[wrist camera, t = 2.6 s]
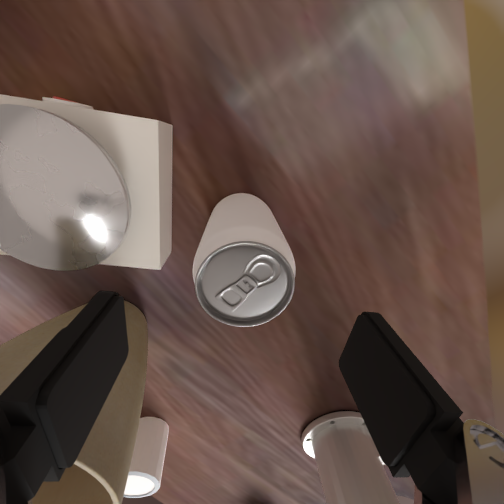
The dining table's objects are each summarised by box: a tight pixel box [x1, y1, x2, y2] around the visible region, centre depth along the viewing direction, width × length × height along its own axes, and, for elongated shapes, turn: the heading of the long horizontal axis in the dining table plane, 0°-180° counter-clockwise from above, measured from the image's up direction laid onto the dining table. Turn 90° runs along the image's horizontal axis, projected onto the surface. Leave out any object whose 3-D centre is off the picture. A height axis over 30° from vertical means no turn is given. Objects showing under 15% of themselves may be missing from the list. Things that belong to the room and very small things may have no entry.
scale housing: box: [0, 94, 173, 270], centre depth 20 cm, size 14×12×4 cm
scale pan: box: [0, 104, 131, 271], centre depth 17 cm, size 11×11×2 cm
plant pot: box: [0, 300, 148, 504], centre depth 21 cm, size 15×15×16 cm
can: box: [193, 193, 295, 327], centre depth 19 cm, size 6×6×12 cm
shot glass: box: [123, 417, 169, 498], centre depth 34 cm, size 7×7×7 cm
